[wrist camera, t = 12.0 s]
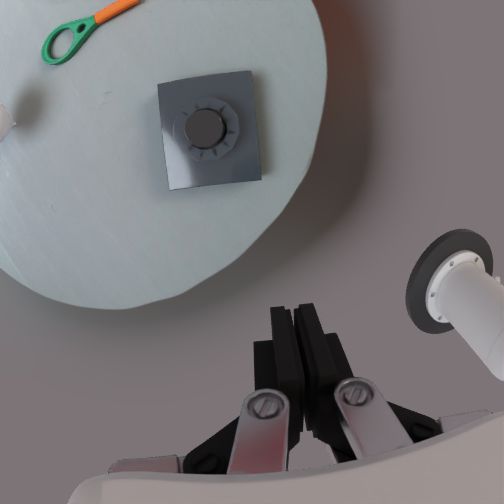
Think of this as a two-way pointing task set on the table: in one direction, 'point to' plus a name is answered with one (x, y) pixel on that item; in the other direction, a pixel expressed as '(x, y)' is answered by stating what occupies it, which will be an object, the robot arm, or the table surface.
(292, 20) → the table surface
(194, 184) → the button housing
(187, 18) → the table surface
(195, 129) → the button cap
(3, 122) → the spinning top
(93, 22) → the magnifying glass
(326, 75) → the table surface
